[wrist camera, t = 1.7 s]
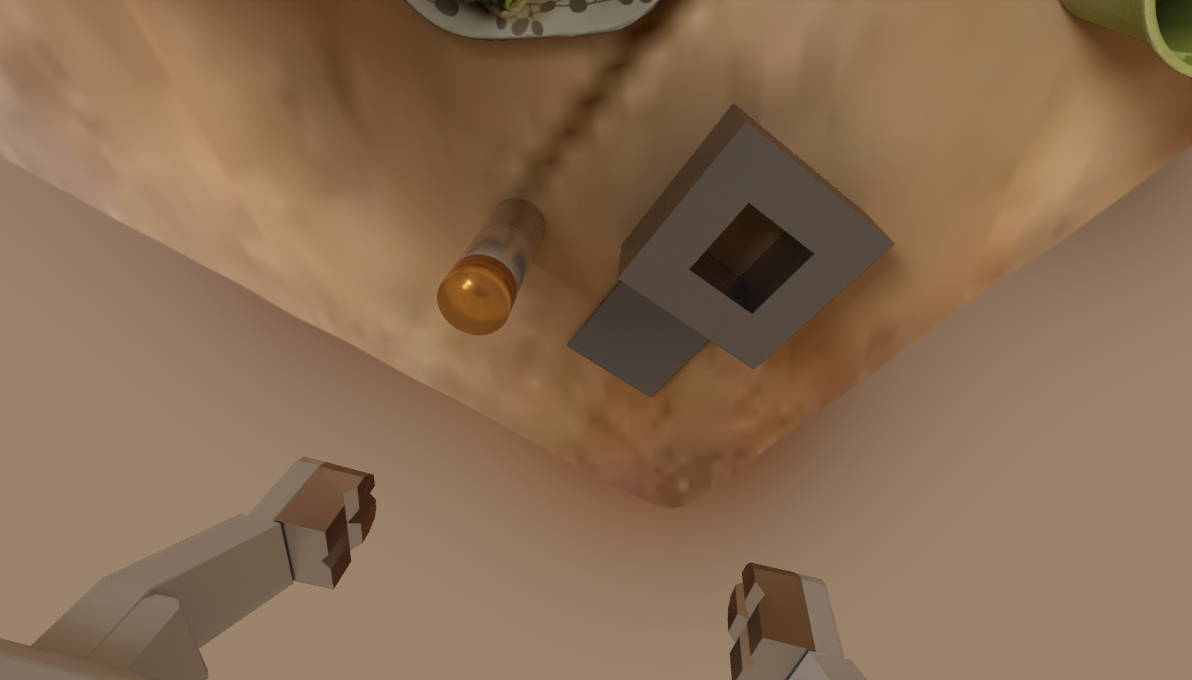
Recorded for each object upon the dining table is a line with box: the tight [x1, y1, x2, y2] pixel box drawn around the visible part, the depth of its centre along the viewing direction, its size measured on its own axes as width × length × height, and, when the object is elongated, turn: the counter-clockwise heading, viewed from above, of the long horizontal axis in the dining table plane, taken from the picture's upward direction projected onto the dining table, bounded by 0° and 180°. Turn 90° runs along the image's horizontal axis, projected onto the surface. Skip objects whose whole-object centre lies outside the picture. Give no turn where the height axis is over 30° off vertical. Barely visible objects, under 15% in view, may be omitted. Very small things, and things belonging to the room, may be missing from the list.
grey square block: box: [618, 103, 895, 369], centre depth 33 cm, size 11×11×5 cm
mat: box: [568, 280, 709, 397], centre depth 40 cm, size 8×8×1 cm
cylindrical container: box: [437, 199, 544, 335], centre depth 32 cm, size 4×4×11 cm
